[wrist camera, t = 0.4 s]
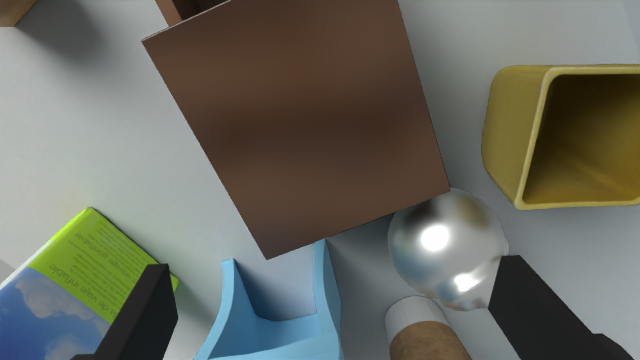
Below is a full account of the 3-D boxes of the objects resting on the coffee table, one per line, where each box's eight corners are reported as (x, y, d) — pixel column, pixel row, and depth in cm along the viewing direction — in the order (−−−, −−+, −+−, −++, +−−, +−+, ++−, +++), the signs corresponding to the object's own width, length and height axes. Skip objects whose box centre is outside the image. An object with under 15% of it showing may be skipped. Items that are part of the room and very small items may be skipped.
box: (60, 228, 32) (-173, 435, 16) (92, 201, 31) (-121, 392, 15) (153, 300, 35) (39, 527, 20) (184, 278, 35) (90, 497, 19)
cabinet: (187, 33, 26) (140, 40, 18) (352, -42, 25) (378, -70, 17) (273, 201, 32) (266, 260, 24) (411, 147, 31) (451, 191, 23)
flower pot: (584, 51, 28) (703, 65, 20) (556, 157, 32) (646, 206, 24) (473, 52, 28) (547, 67, 20) (456, 160, 31) (513, 211, 23)
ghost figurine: (400, 273, 36) (435, 360, 27) (362, 196, 32) (388, 267, 23) (488, 236, 35) (557, 314, 26) (460, 152, 31) (528, 208, 22)
